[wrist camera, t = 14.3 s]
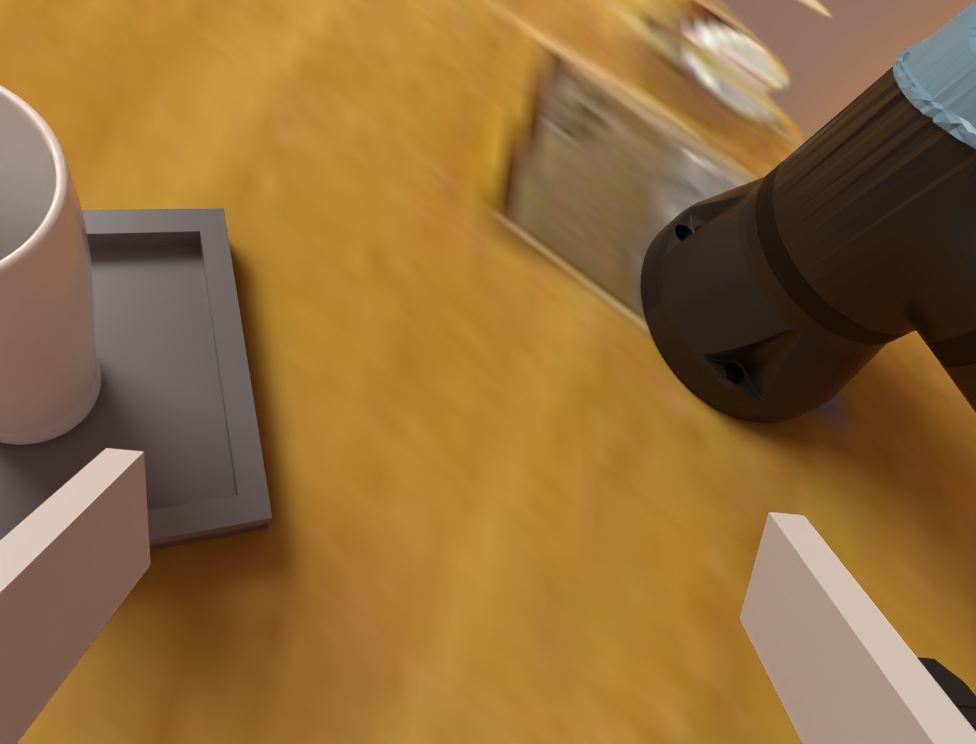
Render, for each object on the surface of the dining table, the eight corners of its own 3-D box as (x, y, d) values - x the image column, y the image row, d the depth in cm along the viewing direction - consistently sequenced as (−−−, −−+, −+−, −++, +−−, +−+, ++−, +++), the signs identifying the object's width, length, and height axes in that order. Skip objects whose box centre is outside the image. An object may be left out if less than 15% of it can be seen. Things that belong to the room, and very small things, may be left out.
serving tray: (221, 235, 36) (223, 208, 34) (266, 527, 32) (272, 517, 30) (-217, 247, 29) (-250, 214, 27) (-233, 623, 25) (-273, 619, 23)
